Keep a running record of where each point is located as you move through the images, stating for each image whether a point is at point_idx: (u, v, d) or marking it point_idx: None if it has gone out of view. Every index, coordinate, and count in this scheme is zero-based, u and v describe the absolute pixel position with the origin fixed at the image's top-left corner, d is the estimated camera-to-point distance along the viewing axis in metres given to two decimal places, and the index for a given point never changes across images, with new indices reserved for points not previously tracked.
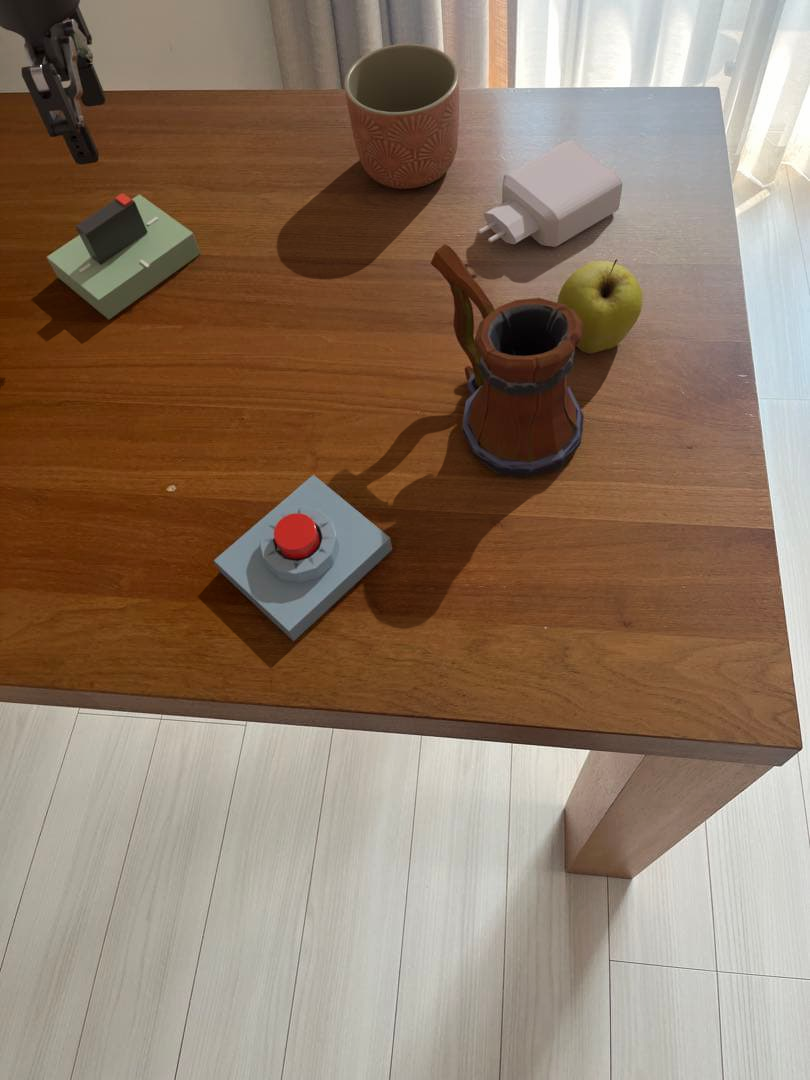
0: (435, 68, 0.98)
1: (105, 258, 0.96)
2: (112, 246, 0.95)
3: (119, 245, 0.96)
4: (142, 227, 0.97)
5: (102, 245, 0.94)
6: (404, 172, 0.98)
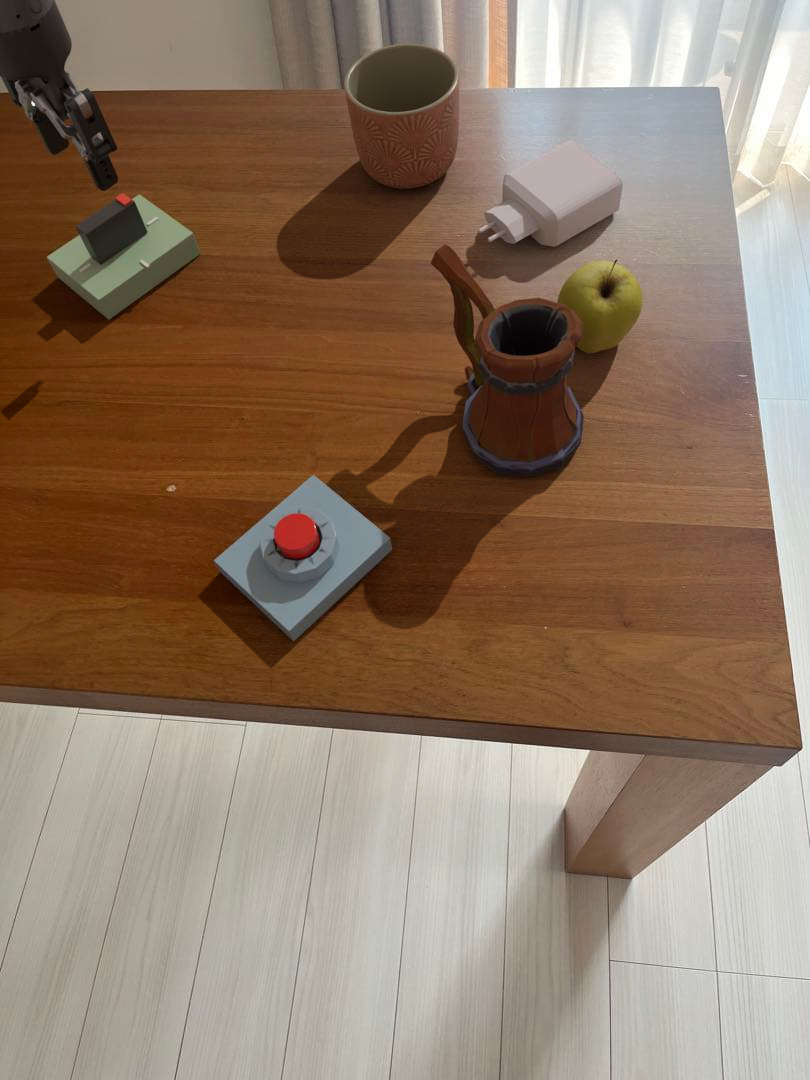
0: (435, 68, 0.98)
1: (105, 258, 0.96)
2: (112, 246, 0.95)
3: (119, 245, 0.96)
4: (142, 227, 0.97)
5: (102, 245, 0.94)
6: (404, 172, 0.98)
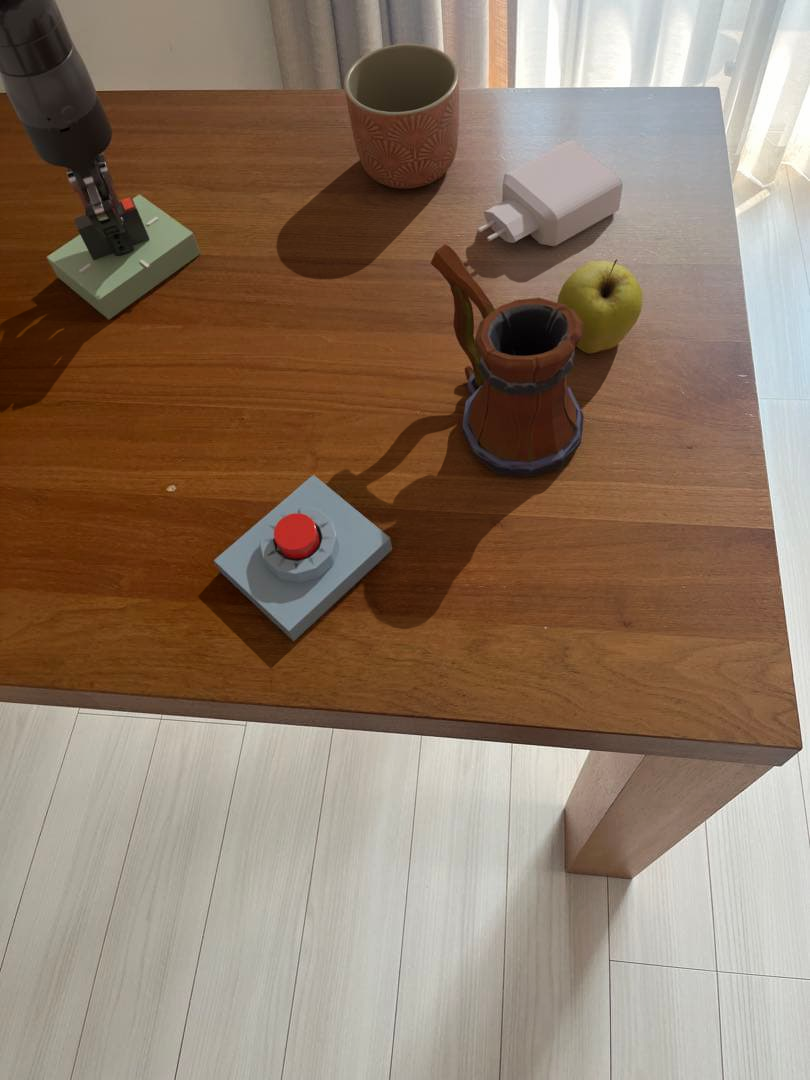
0: (435, 68, 0.98)
1: (99, 255, 0.96)
2: (107, 245, 0.95)
3: None
4: (143, 234, 0.96)
5: (96, 243, 0.95)
6: (404, 172, 0.98)
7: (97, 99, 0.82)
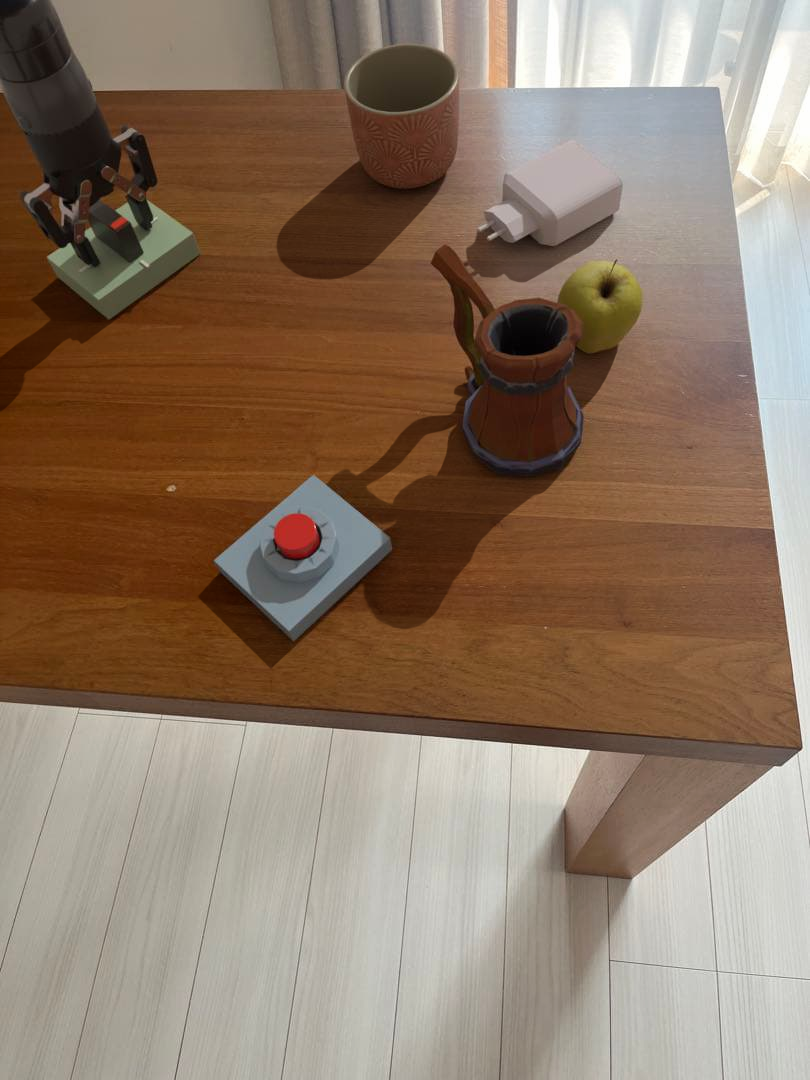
0: (435, 68, 0.98)
1: (98, 236, 0.97)
2: (101, 236, 0.96)
3: (107, 242, 0.96)
4: (124, 254, 0.95)
5: (94, 226, 0.96)
6: (404, 172, 0.98)
7: (71, 131, 0.81)
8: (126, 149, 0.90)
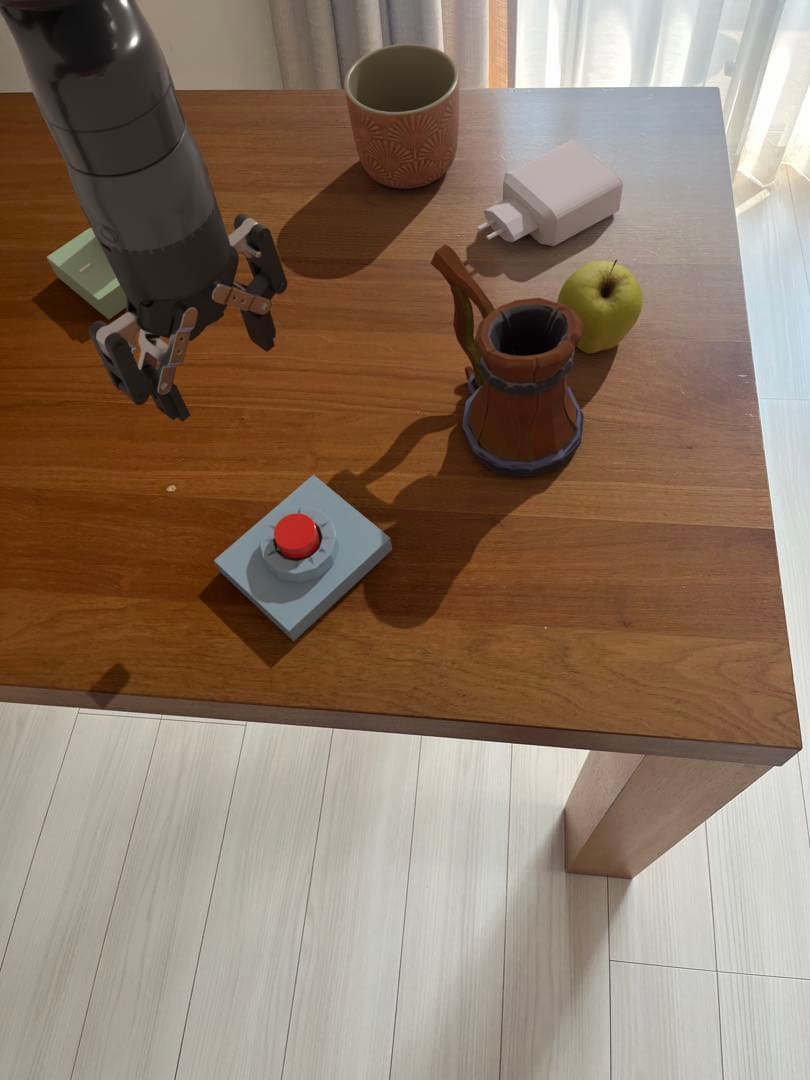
0: (435, 68, 0.98)
1: None
2: None
3: None
4: None
5: None
6: (404, 172, 0.98)
7: (179, 244, 0.51)
8: (244, 251, 0.60)
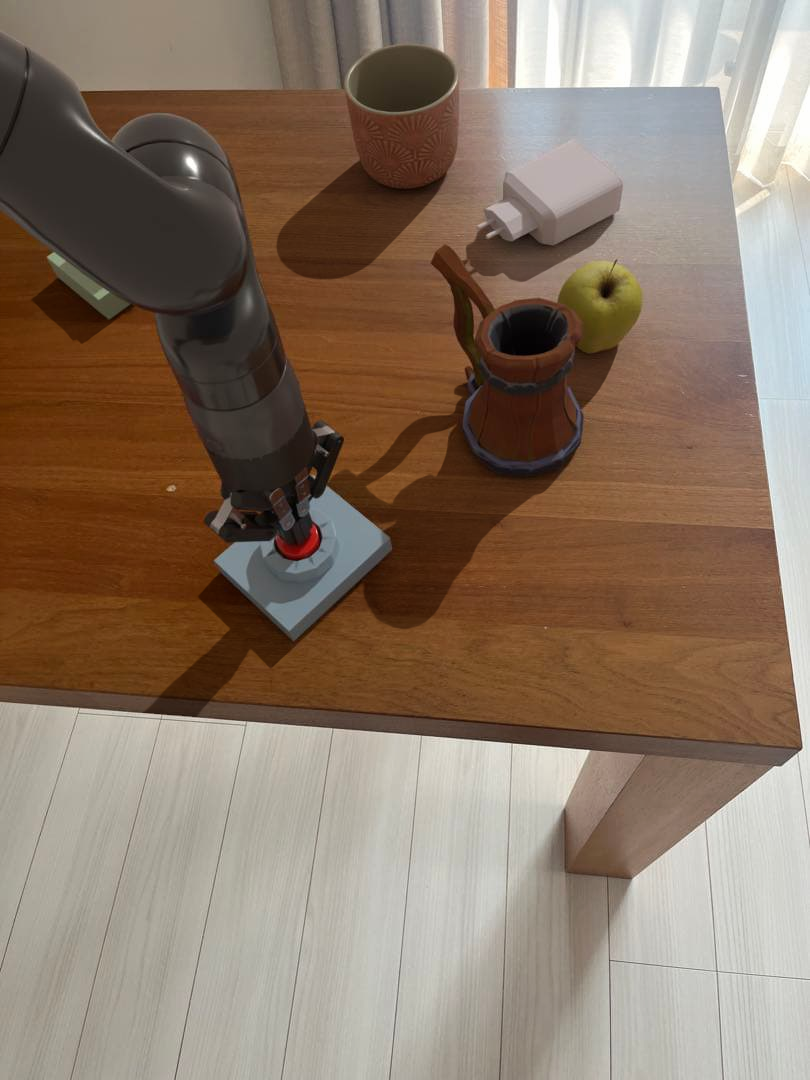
0: (435, 68, 0.98)
1: None
2: None
3: None
4: None
5: None
6: (404, 172, 0.98)
7: (275, 453, 0.59)
8: (317, 447, 0.68)
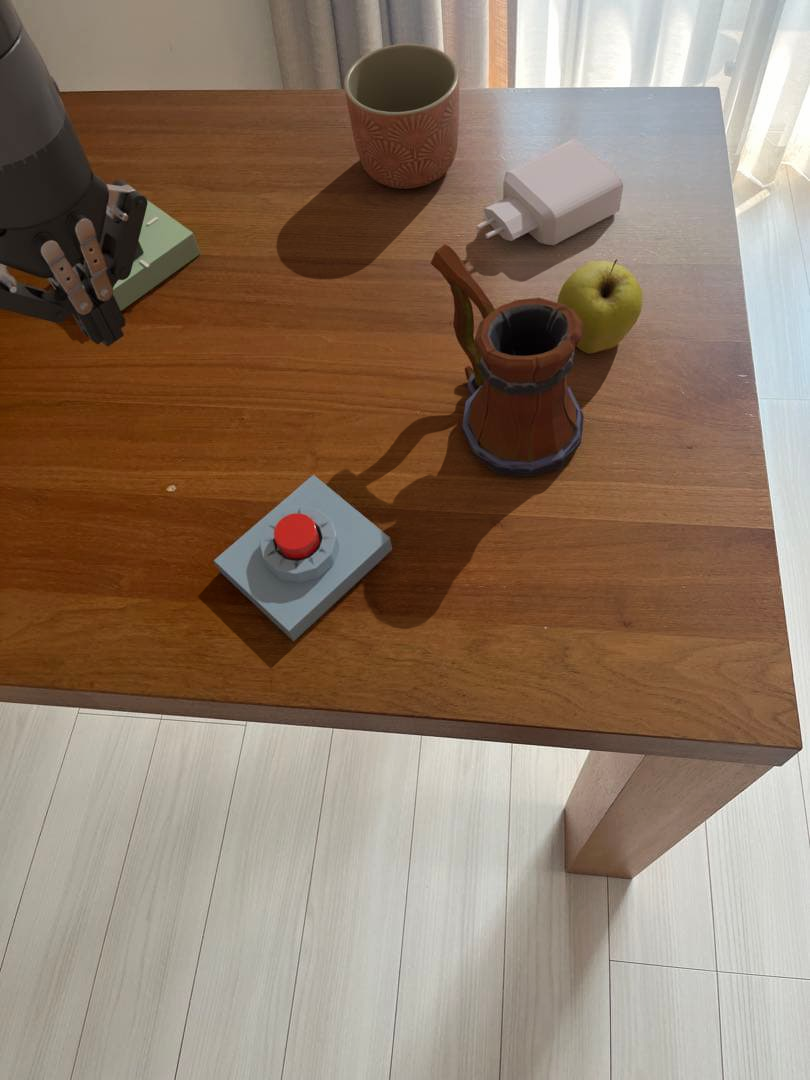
0: (435, 68, 0.98)
1: None
2: None
3: None
4: None
5: None
6: (404, 172, 0.98)
7: (20, 165, 0.48)
8: (112, 206, 0.57)
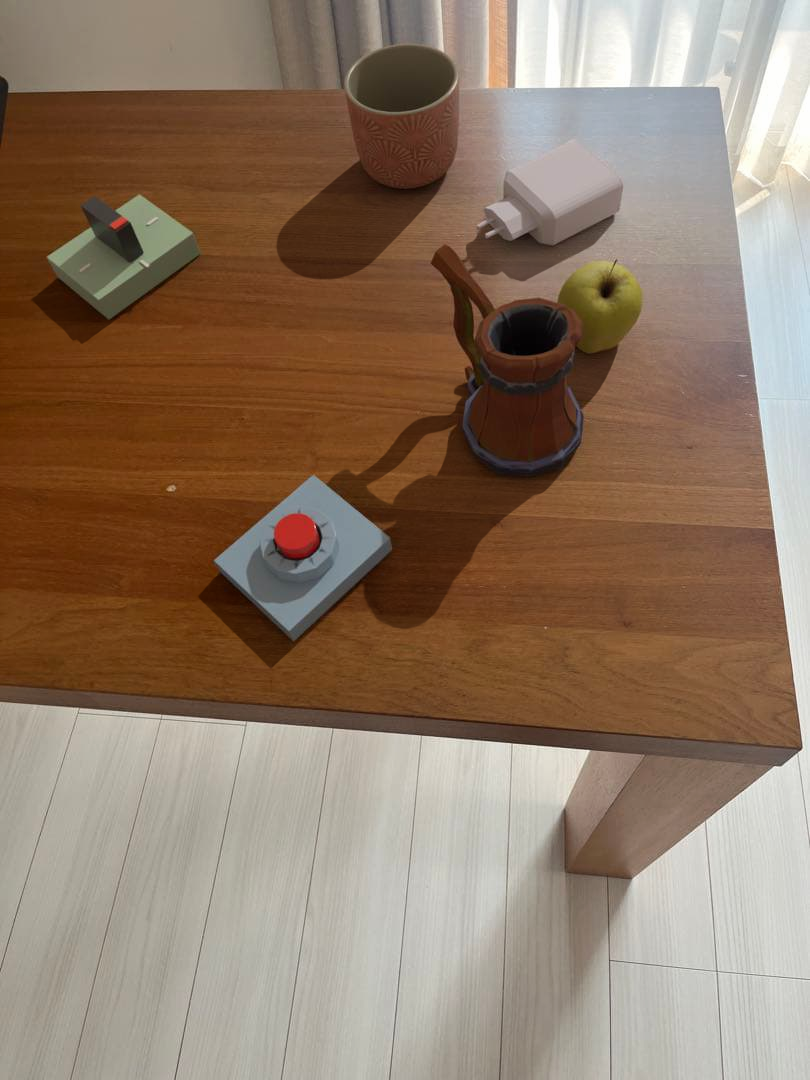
0: (435, 68, 0.98)
1: (98, 236, 0.97)
2: (101, 236, 0.96)
3: (107, 242, 0.96)
4: (124, 254, 0.95)
5: (94, 226, 0.96)
6: (404, 172, 0.98)
7: None
8: None
